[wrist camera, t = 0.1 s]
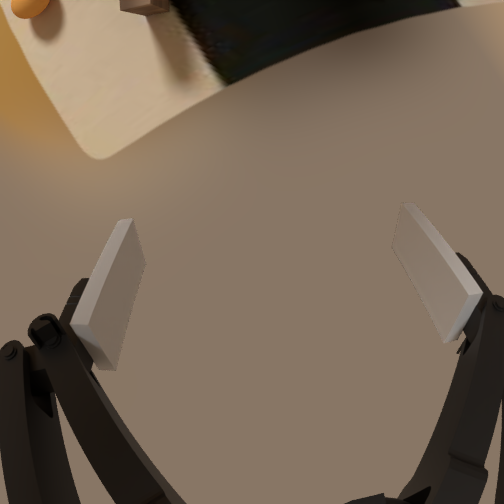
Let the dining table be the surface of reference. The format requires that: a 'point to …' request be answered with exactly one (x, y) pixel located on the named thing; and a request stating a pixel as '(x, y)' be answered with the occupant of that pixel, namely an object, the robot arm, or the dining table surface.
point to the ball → (28, 7)
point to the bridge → (144, 6)
